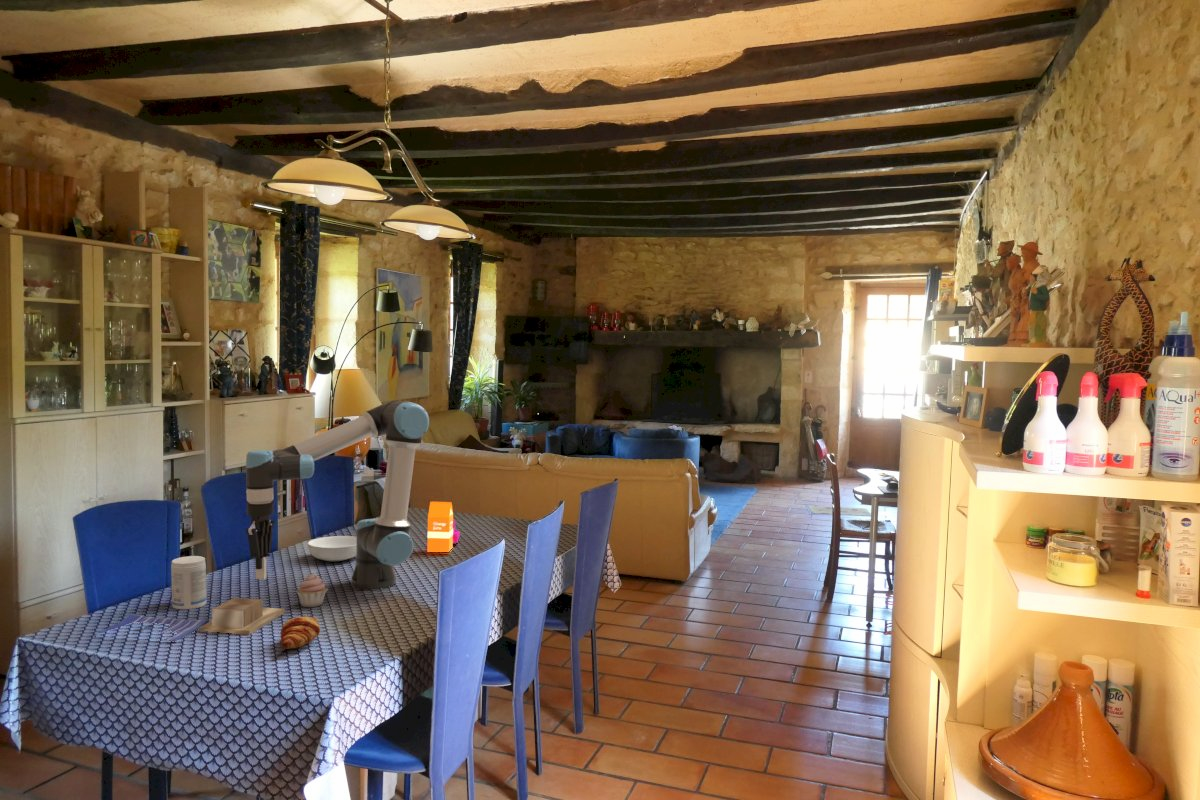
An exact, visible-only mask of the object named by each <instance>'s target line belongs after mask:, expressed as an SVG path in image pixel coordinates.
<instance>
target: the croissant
mask: <svg viewBox="0 0 1200 800" xmlns="http://www.w3.org/2000/svg"><path fill="white" fill-rule="evenodd" d="M319 623H320V622H319V620H318V618H315V617H313V616H306V615H304V616H296V617H292V618H291V619H289V620H287V621H286V622H285V623H284V624H283V625H282V627H281V629H280V643H279V644H280V646H281V647H282V648H283V649H285V650H290V649H296V648H301V647H303V646H304V645H306V644H310V643H312V641H313V640H314V639H316V638H317V637H318V636H319V635H320V634H321V627H320V625H319Z"/></svg>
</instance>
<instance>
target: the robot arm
mask: <svg viewBox="0 0 1200 800" xmlns="http://www.w3.org/2000/svg"><path fill="white" fill-rule="evenodd" d="M429 427H430V417H429V413H428V412H427V411H426V409H425V408H424V407H423V406H421V405H420V404H418V403H415V402H413V401H412V402H411V401H402V400H391V401H387V402H385V403H382V404H379V405H378V406H376V407H373V408H372V409H371V408H370V409H369V410H366V411H365V412H363V413H362V416H360V417H357V418H355V419H352V420H349V421H348V422H344V423H343V424H341V425H338V426H336V427H333V428H330V429H329V430H326V431H323V432H320V433H319V434H317V435H316V434H315V435H314V436H312V437H309V438H307V439H304V440H301V441H300V442H296V443H294V444H292V445H290V446H287V447H285V448H282V449H281V448H279V449H273V450H270V449H269V450H268V449H255V450H254V449H253V450H251V451H248V452H247V453H246V459H245V476H246V477H245V478H246V491H245V493H246V501H247V503H246V515H247V516H249V517H251V518H250V526H249V527H247V528H246V529H245V533H246V535H247V540H248V545H249V546H248V547H249V552H250V553H249V554H250V558H252V559H255V560H254V561H255V580H266V579H267V557H270V556H271V554H270V553H271V549H272V541H273V530H274V525H275V520H273V519H272V520H271V515H273V514H274V512H275V511H274V508H275V507H274V506H275V504H274V502H273V500H274V499H275V498H274V482H277V481H287V480H289V481H290V480H304V479H310V478H312V477H313V476H314V473H315V461H318V460H320V459H322V458H324V457H327V456H329V455H331V454H334V453H335V452H338V451H341V450H343V449H345V448H348V447H350V446H353V445H354V444H357V443H359V442H361V441H364V440H366V439H368V438H374V439H376V438H379V437H381V436H383V435H384V436H385V435H386V436H385V441H386V443H387V444H388V446H389V447H388V456H387V462H386V463H387V464H386V471H385V480H384V487H383V495H382V502H381V511H380V516H379V517H377V518H376V517H375V518H366V519H361V520H359V521H358V522H357V523H356V530H355V533H356V537H357V550H356V556H355V557H356V560H355V561H356V562H355V563H356V564H355V567H354V570H353V573H352V575H351V579H350V586H351V585H352V586H353V587H352V586H351V587H352V588H354V587H355V588H354V589H356V588H359V589H358V590H361V589H381V588H386V587H389V586H392V585H394V584H395V583H396V584H397V575H396V573H395V569H394V567H395V566H399V565H401V564H403V563H404V562H406V561H407V560H409V558H410V557H411V555H412V554H413V550H414V541H413V538H412V536H411V535H410V532H411V523H410V522H409V520H408V511H409V504H410V496H411V486H412V482H413V481H412V479H413V474H414V473H413V472H414V471H413V470H414V465H415V456H416V449H417V448H418V447H419V446H420V445H421V444H422V438H423V436H424V435H425V434H426V433H427V431H428V429H429ZM393 566H394V567H393ZM396 584H395V585H396ZM395 585H394V586H395ZM392 587H393V586H392ZM386 589H387V588H386ZM381 590H382V589H381Z"/></svg>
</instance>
